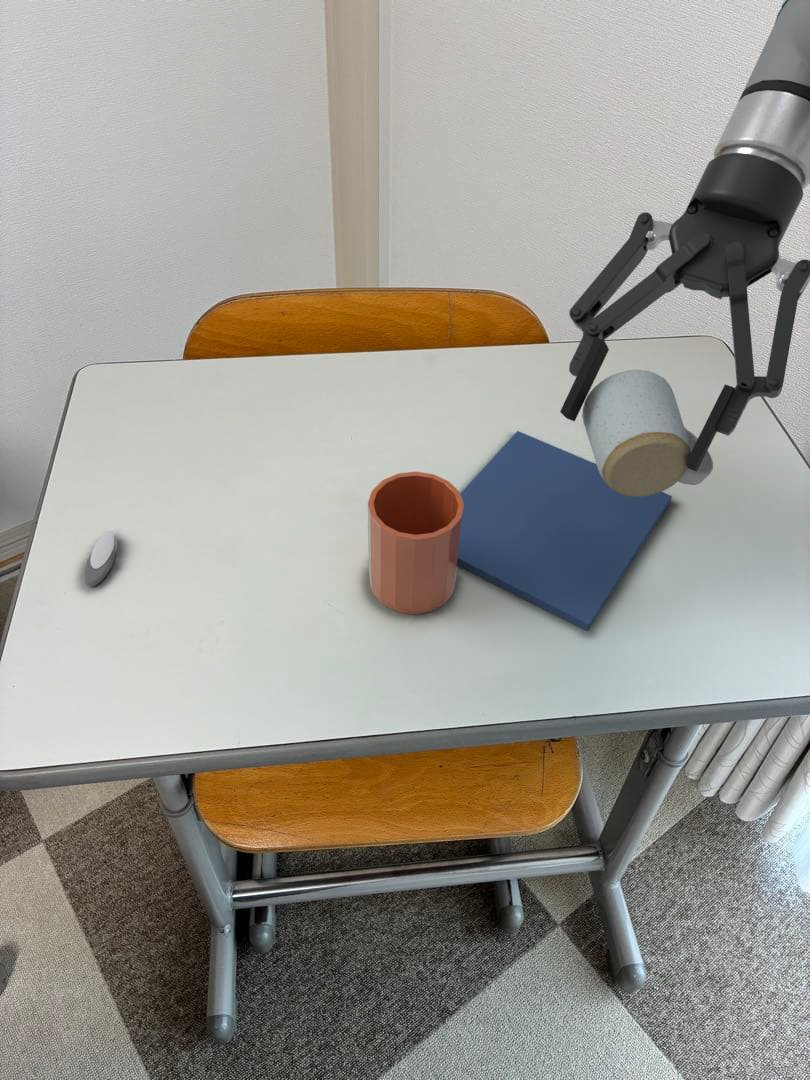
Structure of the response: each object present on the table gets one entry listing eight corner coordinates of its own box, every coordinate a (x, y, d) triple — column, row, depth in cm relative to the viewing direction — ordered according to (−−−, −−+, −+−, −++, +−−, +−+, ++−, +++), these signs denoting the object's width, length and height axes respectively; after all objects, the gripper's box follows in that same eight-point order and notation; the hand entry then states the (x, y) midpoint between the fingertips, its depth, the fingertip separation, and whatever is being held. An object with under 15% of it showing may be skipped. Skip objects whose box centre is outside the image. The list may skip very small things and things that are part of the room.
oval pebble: (104, 590, 73) (101, 583, 72) (78, 587, 73) (75, 580, 72) (126, 538, 77) (123, 531, 76) (101, 536, 77) (98, 529, 76)
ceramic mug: (593, 504, 64) (615, 430, 59) (573, 439, 70) (591, 366, 64) (720, 503, 65) (754, 429, 60) (691, 439, 71) (719, 366, 65)
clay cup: (471, 572, 75) (480, 495, 68) (425, 628, 71) (430, 552, 63) (401, 536, 78) (403, 459, 71) (352, 588, 74) (349, 511, 66)
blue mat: (669, 502, 82) (672, 495, 82) (587, 631, 71) (589, 624, 70) (516, 437, 89) (517, 430, 88) (418, 545, 77) (418, 538, 77)
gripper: (903, 237, 60) (765, 503, 63) (626, 162, 69) (515, 400, 71) (924, 191, 53) (769, 493, 56) (614, 114, 62) (492, 380, 64)
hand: (627, 441), depth 64 cm, fingers closed on ceramic mug, 10 cm apart
